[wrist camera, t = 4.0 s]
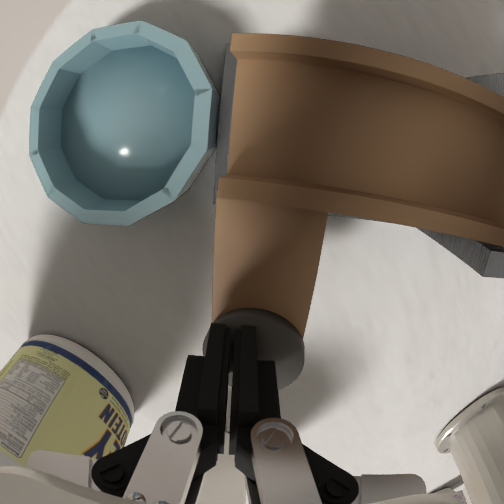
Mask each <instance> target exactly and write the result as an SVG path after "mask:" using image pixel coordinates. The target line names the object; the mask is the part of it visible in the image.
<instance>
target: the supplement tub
mask: <svg viewBox="0 0 504 504" xmlns="http://www.w3.org/2000/svg"><path fill="white" fill-rule="evenodd" d="M133 420H134V406H133V401H132V399H131V396H130V394H129V392H128V390H127V388H126V386H125V385H124V383H123V382H122V381H121V379H120V378H119V377H118V376H117V375H116V373H115V372H114V371H113V370H112V369H111V368H110V367H109V366H108V365H107V364H105V363H104V362H103V361H102V360H101V359H99V358H98V357H97V356H96V355H94V354H93V353H92V352H90V351H89V350H87V349H85V348H84V347H82V346H80V345H78V344H77V343H75V342H72V341H70V340H68V339H65V338H63V337H59V336H55V335H47V334H42V335H36V336H33V337H31V338H30V339H28V340H27V341H25V342H24V343H23V344H22V346H21V347H20V348H19V350H18V351H17V352H16V353H15V354H14V355H13V357H12V358H11V359H10V360H9V362H8V363H7V364H6V365H5V366H4V368H3V369H2V370H1V371H0V467H2V466H19V467H26V465H27V460H28V458H29V456H30V455H31V454H32V453H33V452H34V451H37V450H46V451H52V452H58V453H64V454H71V455H79V456H88V457H90V458H91V459H98V460H99V459H100V458H102V457H104V456H106V455H108V454H110V453H113V452H115V451H117V450H119V449H121V448H123V447H124V445H125V442H126V439H127V436H128V433H129V431H130V428H131V425H132V423H133Z"/></svg>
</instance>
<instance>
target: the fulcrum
mask: <svg viewBox="0 0 504 504" xmlns="http://www.w3.org/2000/svg"><path fill="white" fill-rule="evenodd" d="M230 46H231V44H227V45H226V54H225V63H224V73H223V82H222V93H221V103H220V115H219V126H218V139H217V152H216V167H215V182H214V199H213V204H216V199H217V191H218V182H219V177H221V176H223V175H226V174H227V169H228V156H229V144H230V131H231V120H232V109H233V98H234V87H235V77H236V67H237V59H236V57H235V56H234V55H233V54H232V53H231V52H230ZM466 79H468V80H470V81H472V82H475V83H477V84H479V85H481V86H483V87H485V88H487V89H489V90H491V91H493V92H495V93H497V94H499V95H501V96H503V97H504V73H498V74H489V75H481V76H474V77H467V78H466ZM327 215H334V216H342V217H350V218H358V219H366V220H373V219H367V218H361V217H355V216H349V215H343V214H336V213H330V212H328V214H327ZM374 221H379V220H374ZM381 222H384V221H381ZM388 223H390V222H388ZM418 229H419V230H420V231H422V232H423V233H425V234H426V235H428V236H429V237H431V238H432V239H433V240H435V241H436V242H438V243H439V244H440V245H442V246H443V247H445V248H446V249H447V250H449V251H450V252H451V253H453V254H454V255H456V256H457V257H458V258H460V259H461V260H462V261H463V262H465V263H466V264H467V265H469V266H470V267H471V268H472V269H474V270H475V271H476V272H478V273H479V274H480V275H481V276H483V277H495V278H504V247H503V246H499V245H494V244H490V243H486V242H482V241H478V240H473V239H469V238H464V237H460V236H455V235H451V234H446V233H441V232H436V231H431V230H426V229H421V228H418Z"/></svg>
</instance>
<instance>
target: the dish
mask: <svg viewBox="0 0 504 504" xmlns="http://www.w3.org/2000/svg"><path fill="white" fill-rule="evenodd" d="M219 109H220V96H219V94H218V92H217V90H216V88H215V86H214V84H213V82H212V81H211V79H210V77H209V75H208V73H207V71H206V69H205V67H204V65H203V63H202V61H201V60H200V58H199V56H198V55H197V54H196V52H195V51H194V50H193V48H192V47H191V46H190V44H189V43H188V42H187V41H186V40H184V39H182V38H180V37H178V36H176V35H174V34H172V33H170V32H167V31H165V30H163V29H161V28H158V27H156V26H154V25H152V24H149V23H147V22H144V21H141V20H140V21H133V22H127V23H121V24H116V25H111V26H106V27H101V28H97V29H93V30H91V31H90V32H88V33H87V34H86V35H85V36H83V37H82V38H81V39H79V40H78V41H77V42H76V43H74V44H73V45H72V46H71V47H69V48H68V49H67V50H66V51H65V52H64V53H62V54H61V55H60V56H59V57H58V58H57V59H55V60H54V61H53V63H52V64H51V66H50V68H49V70H48V72H47V74H46V76H45V78H44V80H43V82H42V84H41V86H40V88H39V90H38V92H37V95H36V97H35V99H34V101H33V103H32V106H31V113H30V134H29V155H30V158H31V161H32V163H33V166H34V168H35V170H36V172H37V175H38V177H39V179H40V181H41V184H42V186H43V188H44V190H45V192H46V194H47V196H48V198H50V199H51V200H52V201H54V202H55V203H56V204H58V205H59V206H60V207H62V208H63V209H64V210H66V211H67V212H68V213H70V214H71V215H72V216H74V217H75V218H76V219H78V220H79V221H80V222H82V223H88V224H104V225H119V226H129V225H131V224H133V223H135V222H137V221H138V220H140V219H142V218H144V217H145V216H147V215H149V214H151V213H153V212H155V211H156V210H158V209H160V208H162V207H164V206H166V205H168V204H169V203H171V202H173V201H175V200H176V199H177V198H178V197H180V196H181V195H182V194H183V193H184V192H186V191H187V190H188V189H189V188H190V186H191V185H192V183H193V182H194V180H195V179H196V177H197V176H198V174H199V172H200V171H201V169H202V168H203V166H204V165H205V163H206V162H207V160H208V159H209V157H210V156H211V154H212V153H213V151H214V150H215V148H216V146H217V133H218V120H219Z"/></svg>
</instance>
